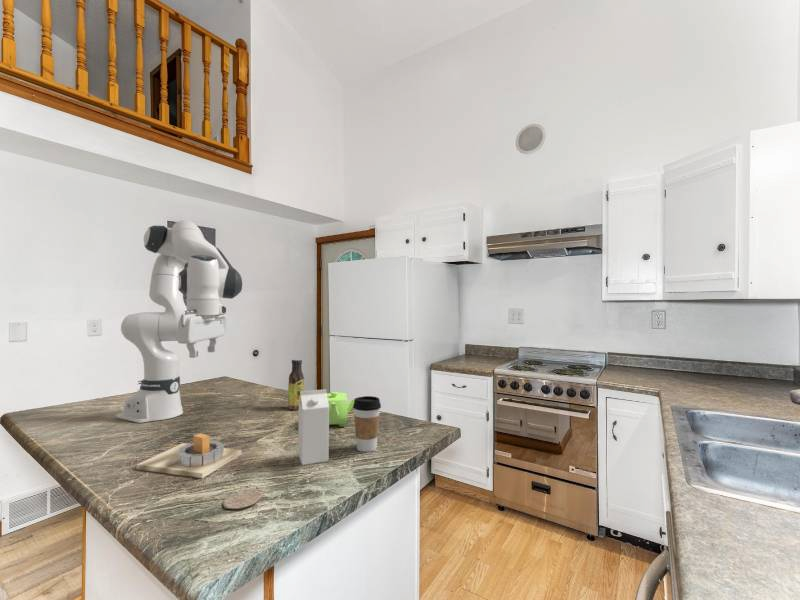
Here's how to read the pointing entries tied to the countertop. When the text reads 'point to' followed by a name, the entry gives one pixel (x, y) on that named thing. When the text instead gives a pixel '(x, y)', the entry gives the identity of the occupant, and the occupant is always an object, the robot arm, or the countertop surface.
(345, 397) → the kettle
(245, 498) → the flatbread
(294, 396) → the sauce bottle
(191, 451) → the orange dark-based block
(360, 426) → the coffee cup
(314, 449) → the milk carton
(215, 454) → the faceted grey ring
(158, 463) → the board
